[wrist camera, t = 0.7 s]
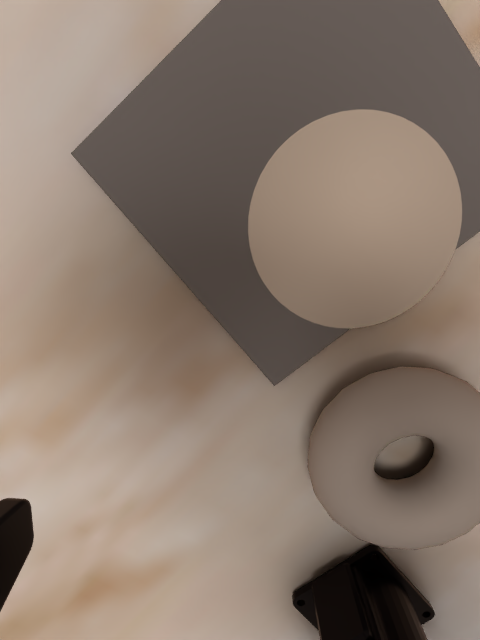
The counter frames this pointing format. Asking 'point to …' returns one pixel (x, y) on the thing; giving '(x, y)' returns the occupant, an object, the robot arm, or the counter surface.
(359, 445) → the donut
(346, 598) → the robot arm
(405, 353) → the counter surface
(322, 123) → the kitchen scale
